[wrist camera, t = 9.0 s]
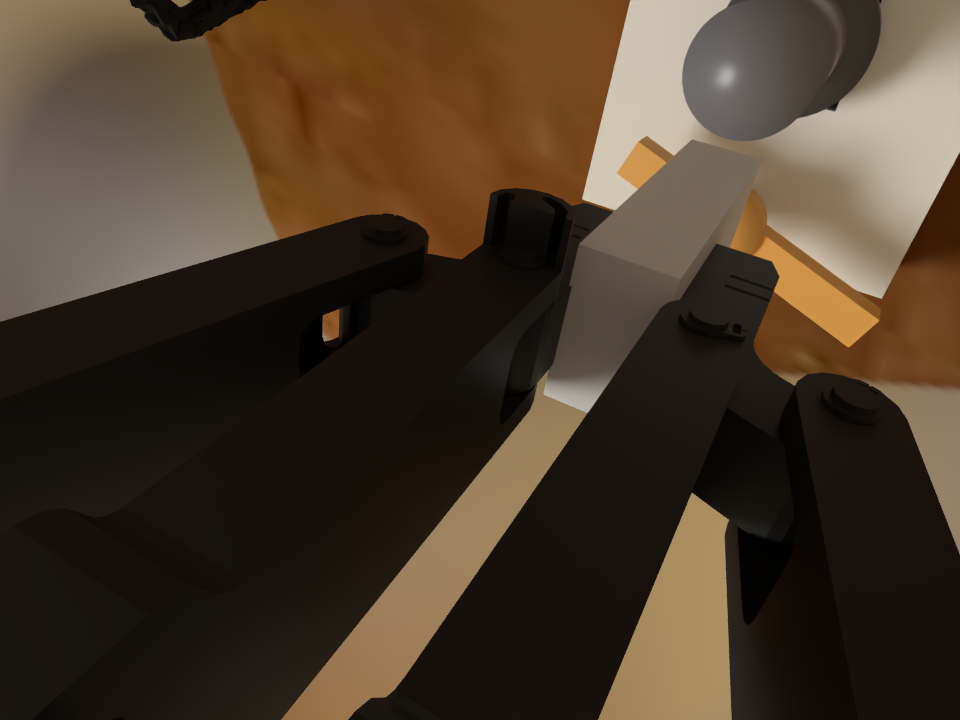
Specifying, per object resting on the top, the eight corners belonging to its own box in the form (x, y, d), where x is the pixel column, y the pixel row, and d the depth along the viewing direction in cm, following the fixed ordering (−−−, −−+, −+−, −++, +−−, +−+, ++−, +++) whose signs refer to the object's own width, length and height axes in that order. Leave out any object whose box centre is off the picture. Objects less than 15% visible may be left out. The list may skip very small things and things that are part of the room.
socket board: (723, -259, 28) (685, -299, 24) (1136, -216, 24) (1187, -255, 19) (609, 179, 38) (567, 210, 34) (884, 267, 34) (879, 316, 29)
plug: (770, -59, 30) (681, -64, 19) (911, -32, 29) (907, -20, 17) (726, 78, 34) (625, 146, 22) (850, 110, 32) (811, 201, 20)
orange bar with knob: (615, 181, 32) (604, 189, 31) (657, 119, 30) (648, 125, 29) (836, 347, 30) (833, 362, 29) (896, 294, 28) (895, 308, 27)
